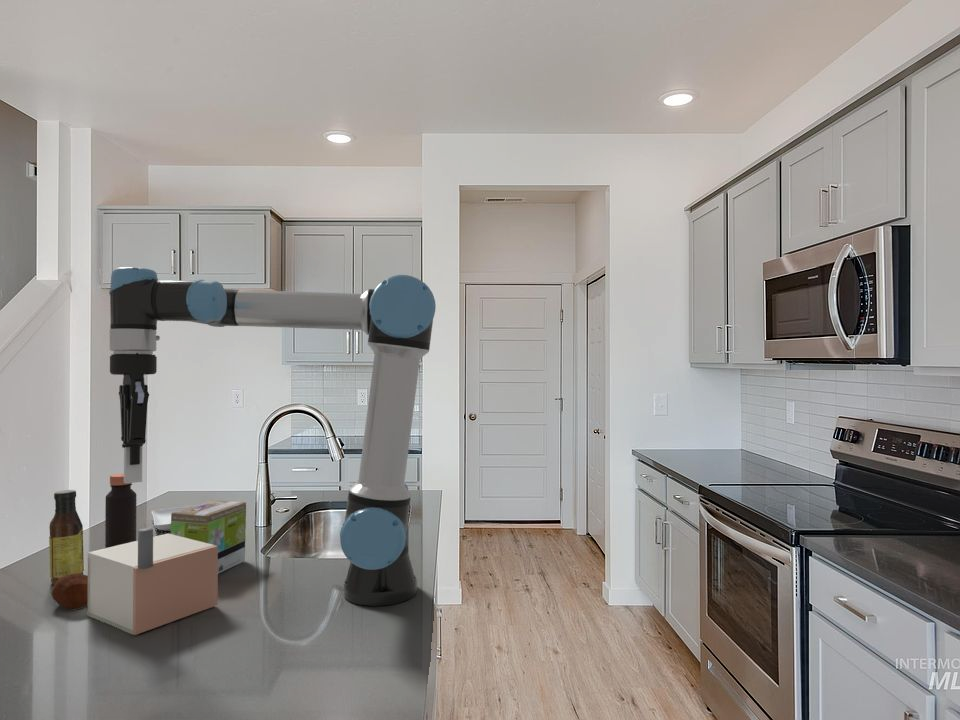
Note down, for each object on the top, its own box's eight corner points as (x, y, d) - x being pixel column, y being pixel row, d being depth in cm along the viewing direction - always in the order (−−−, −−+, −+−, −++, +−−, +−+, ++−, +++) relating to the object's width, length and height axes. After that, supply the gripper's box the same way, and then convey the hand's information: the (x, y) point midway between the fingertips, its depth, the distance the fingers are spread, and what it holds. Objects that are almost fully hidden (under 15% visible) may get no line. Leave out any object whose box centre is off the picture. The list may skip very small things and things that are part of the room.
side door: (215, 604, 124) (215, 512, 124) (222, 606, 123) (222, 514, 123) (132, 633, 110) (133, 530, 110) (140, 637, 109) (140, 532, 109)
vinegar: (137, 549, 162) (137, 472, 162) (135, 556, 156) (135, 476, 156) (106, 552, 159) (107, 473, 159) (103, 560, 153) (104, 478, 153)
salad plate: (154, 536, 176) (154, 524, 176) (150, 520, 194) (150, 509, 194) (234, 526, 186) (234, 515, 186) (224, 512, 205) (224, 501, 205)
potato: (54, 617, 119) (54, 583, 119) (49, 603, 126) (49, 571, 126) (97, 608, 123) (97, 575, 123) (89, 595, 130) (90, 564, 130)
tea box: (208, 582, 138) (208, 514, 138) (168, 578, 140) (168, 512, 140) (246, 561, 153) (247, 500, 153) (210, 558, 155) (210, 498, 155)
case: (214, 605, 124) (214, 545, 124) (133, 634, 111) (133, 567, 111) (167, 590, 133) (168, 533, 133) (87, 615, 119) (87, 552, 119)
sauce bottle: (90, 579, 139) (90, 490, 140) (61, 588, 134) (61, 495, 134) (71, 575, 142) (71, 487, 142) (42, 583, 137) (42, 492, 137)
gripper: (164, 352, 112) (164, 484, 112) (148, 353, 122) (147, 474, 122) (117, 352, 107) (116, 490, 107) (103, 353, 117) (103, 479, 117)
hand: (132, 481), depth 115 cm, fingers closed
